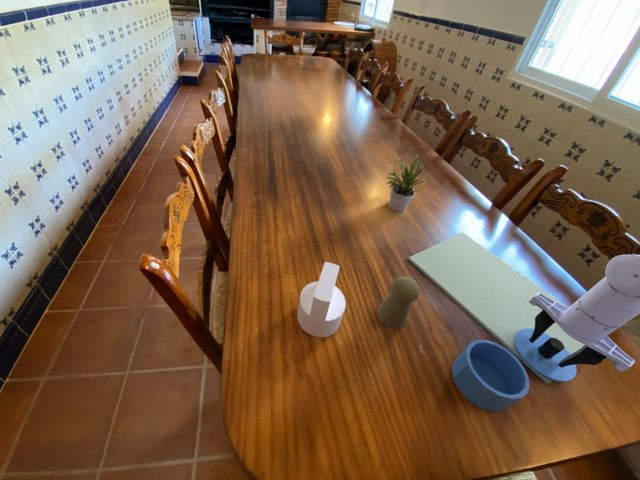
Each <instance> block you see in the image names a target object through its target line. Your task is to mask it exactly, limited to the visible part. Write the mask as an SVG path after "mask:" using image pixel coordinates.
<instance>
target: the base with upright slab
mask: <svg viewBox="0 0 640 480" xmlns="http://www.w3.org/2000/svg"><path fill="white" fill-rule="evenodd" d="M339 272H340V265H338V264H336V263H333V262H327V261H324V263H323V266H322V269H321V272H320V276H319V278H318V281H313V282H310V283H307V284H306V285H305V286H304V287H303V288H302V290H301V292H300V296H299V300H298V307H297V312H296V313H297V314H296V317H297V322H298V325H299V326H300V328H301V329H302V330H303V331H304V332H305V333H307V334H309V335H310V336H312V337H317V338H326V337H330V336H332V335H334V334H335V333H336V332H337V330H338V329H339V328H340V325H341V321H342V319H343V316H344V312H345V310H346V302H347V301H346V298H345V295H344V293H343V292H342V291H341V289H340V288H338V287H337V286H336V283H337V279H338V275H339Z"/></svg>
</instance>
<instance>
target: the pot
mask: <svg viewBox="0 0 640 480" xmlns="http://www.w3.org/2000/svg"><path fill="white" fill-rule="evenodd" d="M451 374H452V378H453V381H454V383H455V385H456V387H457V389H458V390H459V392H460V393H461V394H462V395H463V396H464V398H465V399H467V400H468V401H469V402H470V403H471V404H473V405H474V406H476V407H478V408H480V409H481V410H484V411H486V412H493V413H495V412H501V411H504V410H506V409H508V408H509V407H511V406H512V405H514V404H515V403H517V402H519V401H520V400H522V399H523V398H524V397H525V396H526V395H527V394H528V393H529V391H530V383H531V381H530V378H529V376H528V372H527V370H526V368H525V367H524V366H523V363H522V362H521V360H520V359H519V358H518V357H516V356H515V355H514V354H513V353H512V352H511V351H510V350H509V349H508V348H506V347H505V346H503V345H501V344H499V343H497V342H495V341H490V340H488V339H476V340H473V341H472V342H471V343H469V344H468V345H467V346H465V348H464V349H463V350H462V351H461V353H459V354H458V355H457V356H456V358H455V359H454V361H453V363H452V366H451Z"/></svg>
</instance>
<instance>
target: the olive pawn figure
mask: <svg viewBox="0 0 640 480" xmlns="http://www.w3.org/2000/svg"><path fill="white" fill-rule="evenodd" d="M419 296H420V287H419V285H418V283H417V282H416V280H414V279H413V278H411V277H409V276H404V275H403V276H401V275H400V276H398V277H396V278H394V280H393V281H392V282H391V284H390V292H388V294H387V295H386V296H385V298H384V299H383V301H382V302H381V304H379V306H378V307H377V310H376V316H377V320H378V321H379V322H380V323H381V324H382V325H383V326H384V327H387V328H389V329H391V330H399V329H401V328H404V326H405V325H406V321H407V318H408V315H409V313H410V309H411V307H412V303H414V302H415V301H417V299H418V298H419Z"/></svg>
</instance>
